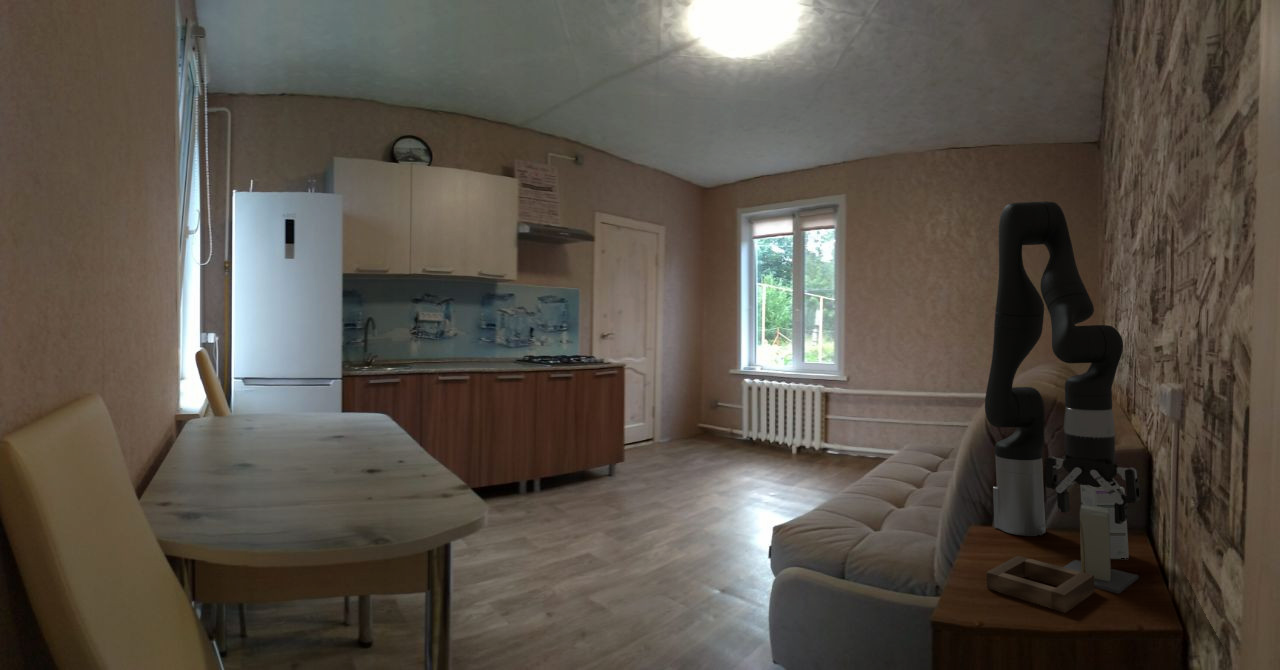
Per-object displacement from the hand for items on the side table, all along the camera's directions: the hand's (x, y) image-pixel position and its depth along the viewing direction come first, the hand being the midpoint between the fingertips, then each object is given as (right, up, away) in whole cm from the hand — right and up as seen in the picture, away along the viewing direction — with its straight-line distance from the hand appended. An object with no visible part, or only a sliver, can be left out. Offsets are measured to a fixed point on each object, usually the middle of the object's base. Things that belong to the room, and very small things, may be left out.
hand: (1091, 517), depth 111 cm
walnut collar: (-13, -12, -5) cm, 18 cm away
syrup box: (+11, -11, +10) cm, 19 cm away
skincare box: (+1, -11, 0) cm, 11 cm away
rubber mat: (+1, -11, 0) cm, 11 cm away
